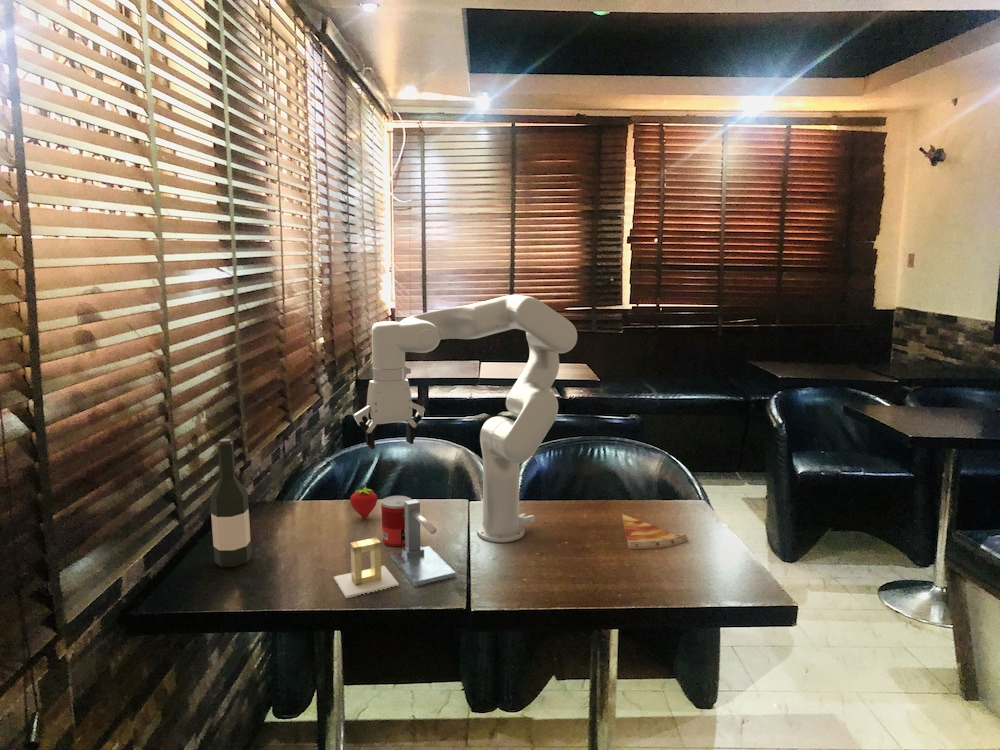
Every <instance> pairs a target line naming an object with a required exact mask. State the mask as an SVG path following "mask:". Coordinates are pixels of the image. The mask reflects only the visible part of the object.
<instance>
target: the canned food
mask: <svg viewBox="0 0 1000 750" xmlns="http://www.w3.org/2000/svg"><path fill="white" fill-rule="evenodd" d="M409 500H413V499H412V498H411V497H408V496H405V495H389V496H387V497H385V498H383V499H382V500H381V504H380V506H381V507H380V509H381V539H382V542H383V543H384V544H385V545H386V546H388V545H389V547H392V546H401V547H405V546H404V545H405V501H409Z"/></svg>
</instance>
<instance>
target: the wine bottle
mask: <svg viewBox="0 0 1000 750" xmlns="http://www.w3.org/2000/svg"><path fill="white" fill-rule="evenodd" d="M234 448H235V447H234V442H233V441H232V438H231V439H230V438H222V439H220V440H219V443H217V454H218V466H219V467H218V468H219V479H218V481H217V483H216V485H215V487H214V489H213V490H212V492H211V494H210V496H209V502H210V503H209V504H210V505H209V506H210V516H211V517H210V518H211V530H212V545H213V558H214V559H213V560H214V564H216V565H217V566H218V567H221V568H234V567H238V566H241V565H243V564H246V563H248V562H249V561H250V559H251V558H252V546H251V545H252V543H251V528H250V527H251V526H250V511H249V497H248V496H249V495H248V490H247V489H246V488H245V486H243V484H242V483H241V482H240V480H239V479H238V478H237V476H236V467H235V466H236V465H235V463H236V462H235V450H234Z"/></svg>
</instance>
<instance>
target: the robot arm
mask: <svg viewBox="0 0 1000 750" xmlns="http://www.w3.org/2000/svg"><path fill="white" fill-rule="evenodd" d="M513 329H514V330H516V329H517V330H521V331H524V332H525V336H526V341H527V343H528V348H529V349H528V350H529V357H528V360H527V362H526V365H525V367H524V369H523V371H521V373H520V375H519V377H518V378H517V380H516V381H515V383H513V385H512V387H511V389H510V391H509V392H508V394H507V396H506V399H505V407H506V409H507V411H508V412H509V413H510V414H512V415H513V416H514V417H516V420H513V419H511V418H508V417H506V416H502V415H501V416H500V415H497V416H492V417H490V418H488V419H487V420H486V421H485V422H484V423H483V425H482V427H481V429H480V433H479V443H480V448H481V455H482V472H483V473H482V474H483V475H482V523H480V525H478V527H477V530H476V533H477V535H478V537H479V538H481V539H482V540H485V541H487V542H492V543H510V542H514V541H515V542H516V541H517V540H520V539H521V538H523V537H524V535H525V527H524V526H525V525H526V524H530V523H535V521H536V518H535V516H534V514H530V515H526V513H521V514H520V464H522V463H525V462H527V461H528V460H529V459H530V458H531V457H533V455H534V454H535V453H536V451H537V450H538V449H539V447H540V445H541V443H543V440H544V439H545V437H546V436H547V433H548V432H549V431H550V429H551V428H552V426H553V425H554V423H555V421H556V419H557V416H558V411H559V401H558V399H557V396H556V395H555V394H554V392H553V391H551V387H552V386H553V384H554V382H555V380H556V379H557V376H558V373H559V369H560V355H559V354H565V353H568V352H570V351H572V349H573V348H574V347H575V346H576V344H577V343H578V342H577V341H578V332H577V329H576V327H575V325H574V324H573V323H572V321H570V320H568V319H567V318H566V317H564V316H563V315H562V314H560V313H559V312H557V311H555V310H554V309H553V308H551V307H550V306H548V305H547V304H546V303H544V302H542V301H541V300H539V299H538V298H535V297H533V296H529V295H520V294H508V295H503V296H500V297H495V298H492V299H487V300H484V301H479V302H475V303H470V304H466V305H460V306H455V307H451V308H445V309H444V308H443V309H437V310H432V311H428V312H423V313H419V314H415V315H410V316H408V317H405V318H403V319H402V320H401V321H392V320H386V321H385V320H384V321H379V322H375V323H373V324H372V327H371V348H372V351H371V352H372V353H371V354H372V355H371V356H372V380H369V382H368V388H367V395H366V396H367V397H366V406H364V407H363V408H362V409H360V410H358V411H357V412H355V413H354V414H353V419H354V420H355V421H356V423H357V425H358V426H359V427H360V428H361V429H362V430H364V432H365V445H366V446H368V448H369V449H371V450H374V449H375V447H376V445H375V444H376V443H375V433H374V431H373V430H374V429H375V428H376V427H377V425H384V424H391V423H401V422H402V423H403V422H406V426H405V439H406V440H405V441H406V442H407V443H409V444H410V445H413V444H414V443H415V441H414V440H415V439H416V427H417V425H418V424H419V422H421V420H422V418H423V416H424V413H425V411H426V408H425V407H424V406H421V405H419V404H417V403H414V402H413V401H412V394H411V388H410V383H409V379H408V378H407V375H410V374H411V373H412V369H411V368H410V367H407V366H406V353H417V354H420V353H421V354H422V353H423V354H425V353H429V352H432V351H434V350H435V349H436V348H437V347H438V346H439V344H440V342H441V340H449V339H452V340H453V339H458V340H459V339H460V340H474V339H480V338H483V337H484V338H485V337H488V336H491V335H494V334H498V333H503V332H506V331H510V330H513ZM413 409H414V410H416V413H415V415H414V416H413ZM364 416H366V419H367V422H366V423H365V422H364V420H363V417H364Z"/></svg>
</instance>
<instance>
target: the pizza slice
mask: <svg viewBox="0 0 1000 750" xmlns="http://www.w3.org/2000/svg"><path fill="white" fill-rule="evenodd" d="M621 516H622V517H621V518H622V522H623V527H624V531H625V532H624V533H625V536H626V541H627V546H628V549H635V550H639V549H640V550H641V549H642V550H645V549H646V550H647V549H657V548H658V549H660V548H665V547H672V546H677V545H679V544H683V543H686V542H687V541H688V540H689V539H688V536H687V534H686V533H680V534H676V533H673V532H671V531H668V530H665V529H663V528H661V527H658V526H655V525H652V524H650V523H647V522H644V521H641V520H640V519H637V518H634V517H631V516H628V515H626V514H623V513H621Z"/></svg>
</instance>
